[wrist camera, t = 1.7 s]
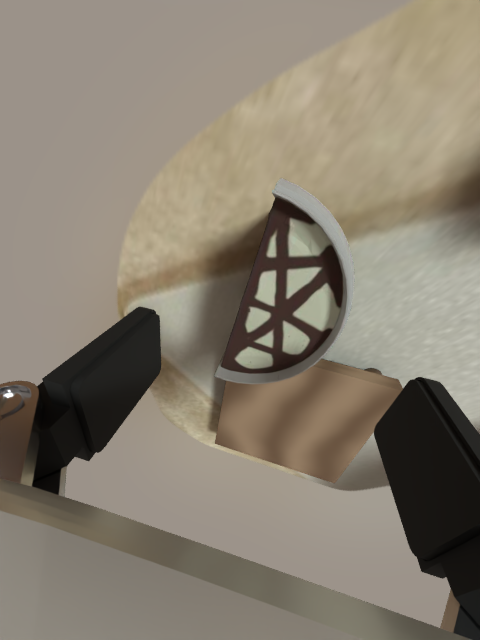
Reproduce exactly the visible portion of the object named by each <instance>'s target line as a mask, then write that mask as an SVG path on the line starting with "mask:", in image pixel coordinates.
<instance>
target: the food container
mask: <svg viewBox="0 0 480 640" xmlns="http://www.w3.org/2000/svg"><path fill="white" fill-rule="evenodd" d="M272 193H273V195H274V197H275V200H274V203H273V206H272V209H271V211H270V213H269V218H268V222H267V226H266V229H265V232H264V235H263V238H262V241H261V244H260V247H259V250H258V253H257V256H256V259H255V262H254V265H253V269H252V272H251V275H250V278H249V281H248V284H247V287H246V290H245V293H244V296H243V298H242V301H241V305H240V308H239V311H238V314H237V318H236V321H235V324H234V327H233V330H232V333H231V336H230V339H229V342H228V345H227V348H226V351H225V353H224V356H223V358H222V360H221V362H220V364H219V366H218V369H217V371H216V373H215V375H214V377H217V378H220V379H223V380H226V381H231V382H236V383H243V384H267V383H273V382H279V381H282V380H285V379H289V378H292V377H294V376H296V375H298V374H300V373H302V372H304V371H306V370H307V369H309V368H310V367H312V366H313V365H315V364H316V363H317V362H318V361H319V360H320V359H322V358H323V357H324V356H325V355H326V354H327V353H328V351H329V350H330V349H331V347H332V346H333V345H334V344H335V342H336V341H337V340H338V338H339V337H340V335H341V333H342V331H343V329H344V327H345V325H346V323H347V320H348V317H349V314H350V311H351V307H352V299H353V291H354V282H355V279H354V263H353V259H352V255H351V251H350V247H349V244H348V242H347V240H346V237H345V235H344V233H343V231H342V229H341V227H340V225H339V224H338V223H337V221H336V220H335V218H334V217H333V215H332V214H331V213H330V211H329V210H328V209H327V208H326V207H325V206H324V205H323V204H322V203H321V202H320V201H319V200H318V199H317V198H316V197H314V196H313V195H311V194H310V193H308V192H307V191H306V190H304V189H303V188H301V187H300V186H298V185H296V184H294V183H291V182H289V181H287V180H285V179H282V178H281V179H280V180H279V181H278V182H277V183H276V186H275V189H274V190H272Z"/></svg>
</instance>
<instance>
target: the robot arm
mask: <svg viewBox="0 0 480 640" xmlns="http://www.w3.org/2000/svg"><path fill="white" fill-rule="evenodd" d="M160 370H161V347H160V318H159V315H157V314H156V312H155V311H154V310H152V309H148V308H144V307H138V308H136V309H135V310H133V311H132V312H131V313H129V314H128V315H127V316H125V317H124V318H123V319H121V320H120V321H119V322H117V323H116V324H115V325H113V326H112V327H111V328H109V329H108V330H107V331H105V332H104V333H103V334H101V335H100V336H99V337H98V338H96V339H95V340H93V341H92V342H91V343H89V344H88V345H87V346H85V347H84V348H83V349H81V350H80V351H79V352H77V353H76V354H75V355H73V356H72V357H71V358H69V359H68V360H67V361H65V362H64V363H63V364H62V365H60V366H59V367H57V368H56V369H55V370H53V371H52V372H51V373H49V374H48V375H47V376H45V377H44V378H43V382H42V383H41V384H40V385H38V386H36V385H35V384H33V383H31V382H28V381H12V382H7V383H3V384H0V640H480V434H479V433H478V432H477V430H476V429H475V428H474V426H473V425H472V424H471V422H470V421H469V420H468V418H467V417H466V416H465V414H464V413H463V412H462V410H461V409H460V408H459V406H458V405H457V404H456V402H455V401H454V400H453V398H452V397H451V396H450V394H449V393H448V392H447V390H446V389H445V387H444V386H443V385H442V384H441V383H440V382H438V381H434V380H430V379H426V378H422V377H418V378H415V379H414V380H410V381H409V382H408V383H407V385H406V386H405V387H404V389H403V390H402V391H401V392H400V394H399V395H398V396H397V398H396V399H395V400H394V402H393V403H392V404H391V406H390V407H389V408H388V410H387V411H386V412H385V414H384V415H383V416H382V418H381V419H380V420H379V422H378V423H377V424H376V426H375V428H374V436H375V439H376V443H377V446H378V449H379V452H380V455H381V458H382V462H383V465H384V468H385V471H386V474H387V477H388V481H389V484H390V487H391V490H392V493H393V496H394V499H395V503H396V506H397V509H398V512H399V515H400V518H401V522H402V525H403V528H404V531H405V534H406V537H407V541H408V544H409V546H410V549H411V551H412V553H413V554H414V555H415V556H417V559H418V562H419V565H420V568H421V571H422V572H424V573H428V574H430V575H433V576H436V577H440V578H445V577H447V579H448V582H449V585H450V587H451V591H450V594H449V598H448V601H447V605H446V609H445V612H444V616H443V620H442V623H441V627H440V628H438V627H435V626H432V625H429V624H427V623H424V622H421V621H418V620H415V619H413V618H410V617H407V616H404V615H401V614H399V613H396V612H393V611H390V610H388V609H385V608H382V607H379V606H376V605H374V604H371V603H368V602H365V601H362V600H360V599H357V598H354V597H351V596H348V595H346V594H343V593H340V592H337V591H334V590H331V589H328V588H326V587H323V586H320V585H317V584H314V583H312V582H309V581H305V580H303V579H300V578H297V577H295V576H292V575H289V574H286V573H283V572H280V571H278V570H275V569H272V568H269V567H266V566H263V565H260V564H258V563H255V562H252V561H249V560H246V559H243V558H241V557H238V556H235V555H232V554H229V553H226V552H224V551H220V550H218V549H215V548H212V547H209V546H207V545H204V544H201V543H198V542H195V541H192V540H189V539H186V538H183V537H181V536H178V535H175V534H172V533H169V532H166V531H163V530H160V529H157V528H155V527H152V526H149V525H146V524H143V523H140V522H137V521H134V520H131V519H129V518H126V517H123V516H120V515H117V514H114V513H111V512H108V511H106V510H103V509H99V508H97V507H94V506H90V505H88V504H84V503H81V502H78V501H75V500H72V499H69V498H65V483H66V469H67V465H68V464H69V463H70V462H71V460H72V459H73V458H74V457H78V458H81V459H84V460H87V461H89V460H90V459H91V458H92V457H93V455H94V454H95V453H96V452H97V453H98V452H100V451H102V450H103V448H104V447H105V446H106V445H107V443H108V442H109V441H110V439H111V438H112V437H113V435H114V434H115V433H116V431H117V430H118V428H119V427H120V426H121V424H122V423H123V422H124V420H125V419H126V418H127V416H128V415H129V414H130V412H131V411H132V410H133V408H134V407H135V406H136V404H137V403H138V401H139V400H140V399H141V397H142V396H143V395H144V393H145V392H146V391H147V389H148V388H149V387H150V385H151V384H152V383H153V381H154V380H155V379H156V377H157V376H158V374H159V372H160Z"/></svg>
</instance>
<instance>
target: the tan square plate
mask: <svg viewBox="0 0 480 640" xmlns="http://www.w3.org/2000/svg"><path fill="white" fill-rule="evenodd" d="M402 390H403V388H402V386H401V384H400V382H399V380H398V379H394V378H390V377H387V376H383V375H382V373H381V372H380V371H379V370H377V369H374V368H369V369H366V370H361V369H357V368H353V367H350V366H346V365H342V364H339V363H335V362H331V361H327V360H324V359H320V360H319V361H318V362H317V363H316V364H315V365H313V366H312V367H310V368H309V369H307V370H306V371H304V372H302V373H300V374H298V375H296V376H294V377H292V378H289V379H285V380H282V381H279V382H273V383H267V384H243V383H236V382H231V381H226V383H225V389H224V395H223V400H222V406H221V412H220V418H219V423H218V429H217V435H216V440H215V444H218V445H221V446H224V447H227V448H230V449H233V450H236V451H239V452H242V453H245V454H248V455H251V456H254V457H257V458H260V459H263V460H266V461H269V462H272V463H275V464H278V465H281V466H284V467H287V468H290V469H293V470H296V471H299V472H302V473H305V474H308V475H311V476H314V477H317V478H320V479H323V480H326V481H329V482H332V483H335V482H336V481H337V480H338V478H339V477H340V476H341V474H342V473H343V472H344V470H345V469H346V468H347V466H348V465H349V464H350V462H351V461H352V460H353V458H354V457H355V456H356V454H357V453H358V452H359V450H360V449H361V448H362V447H363V445H364V444H365V443H366V441H367V440H368V439H369V437H370V436H371V435H372V433H373V432H374V428H375V426H376V424H377V423H378V422H379V420H380V419H381V418H382V416H383V415H384V414H385V412H386V411H387V410H388V408H389V407H390V406H391V404H392V403H393V402H394V400H395V399H396V398H397V396H398V395H399V394H400V392H401V391H402Z"/></svg>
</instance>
